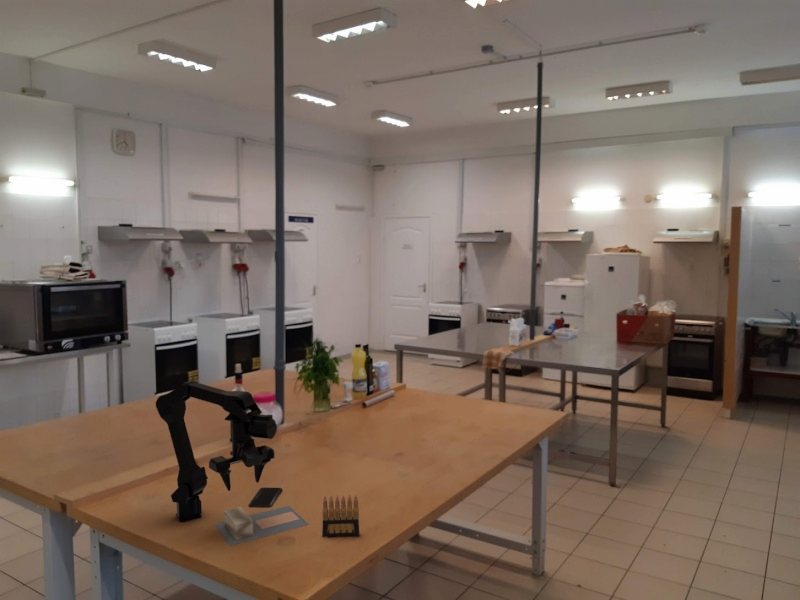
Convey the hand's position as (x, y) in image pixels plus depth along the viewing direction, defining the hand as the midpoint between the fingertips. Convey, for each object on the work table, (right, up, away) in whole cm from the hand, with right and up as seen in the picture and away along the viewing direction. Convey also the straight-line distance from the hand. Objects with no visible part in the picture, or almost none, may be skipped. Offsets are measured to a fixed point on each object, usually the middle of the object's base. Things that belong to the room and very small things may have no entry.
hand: (243, 486), depth 181 cm
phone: (+2, -11, +21) cm, 24 cm away
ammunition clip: (+30, -13, -5) cm, 33 cm away
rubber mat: (+5, -12, +2) cm, 13 cm away
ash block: (-1, -12, -2) cm, 12 cm away
